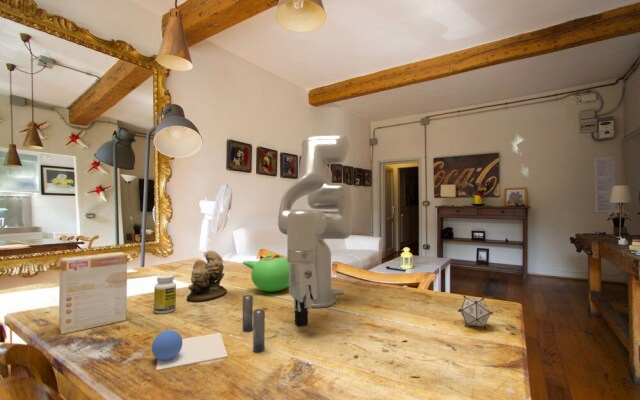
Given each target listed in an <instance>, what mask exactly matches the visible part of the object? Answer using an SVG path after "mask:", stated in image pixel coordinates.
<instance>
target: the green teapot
mask: <svg viewBox="0 0 640 400" xmlns="http://www.w3.org/2000/svg"><path fill="white" fill-rule="evenodd" d="M242 264H243V265H244V266H246V267H248V268H250V269H251V274H250V275H251V281H252V283H253V285H254V286H255V287H256V288H258V289H259V290H260V291H263V292H268V293H273V292H279V291H282V290H284V289H286V288H287V287H289V265H290V263H288V262H287V257H285V256H282V255H280V254H274V255H273V253H272V252H268V253H267V254H266V256H265V257H263V258H261V259H259V260H258V261H254V260H253V261H251V260H243V262H242Z"/></svg>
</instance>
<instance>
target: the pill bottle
mask: <svg viewBox="0 0 640 400" xmlns="http://www.w3.org/2000/svg"><path fill="white" fill-rule="evenodd" d="M156 279H157V283H156V284H155V285H154V295H153V297H154V298H153V312H154V313H156V314H161V315H163V314H168V313H172V312H174V311H176V308H177V307H176V306H177V304H176V302H177V301H176V298H177V297H176V296H177V284H176V283H175V282H174V279H175V278H174V275H173V274H164V275H159V276H157V277H156Z"/></svg>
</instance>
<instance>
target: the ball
mask: <svg viewBox="0 0 640 400" xmlns="http://www.w3.org/2000/svg"><path fill="white" fill-rule="evenodd" d="M182 339H183V337H182V336H181V333H180V332H177V330H173V329H172V330H171V329H169V330H164V331H162V332H160V333H159V334H157V336H155V338H154V339H153V342H152V344H151V351H152V355H153V356H154V358H155V359H157V360H158V359H159V360H162V361H166V360H170V359H172V358H174V357H175V356H177V355H178V353H179V352H180V350H181V348H182Z"/></svg>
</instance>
